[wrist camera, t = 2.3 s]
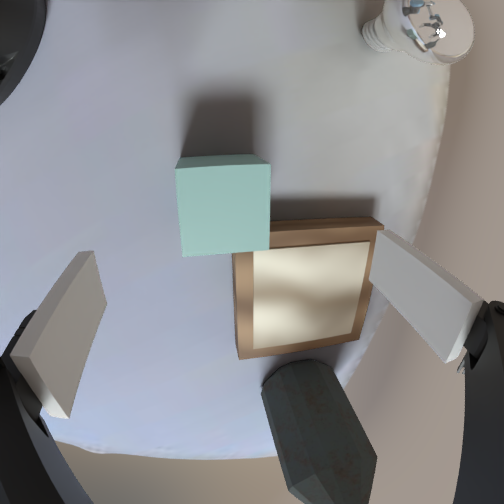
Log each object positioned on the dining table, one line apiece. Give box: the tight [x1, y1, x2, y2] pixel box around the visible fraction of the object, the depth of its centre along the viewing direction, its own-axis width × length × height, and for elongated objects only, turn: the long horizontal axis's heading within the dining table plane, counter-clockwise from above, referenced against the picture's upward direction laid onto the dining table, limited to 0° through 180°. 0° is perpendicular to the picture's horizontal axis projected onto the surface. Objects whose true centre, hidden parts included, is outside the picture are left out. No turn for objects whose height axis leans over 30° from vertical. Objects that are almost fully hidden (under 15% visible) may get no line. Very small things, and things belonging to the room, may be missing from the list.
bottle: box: [261, 359, 377, 504], centre depth 23 cm, size 10×10×30 cm
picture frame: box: [232, 217, 384, 360], centre depth 29 cm, size 14×14×3 cm
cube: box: [175, 154, 271, 257], centre depth 22 cm, size 6×6×6 cm
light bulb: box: [362, 0, 475, 65], centre depth 15 cm, size 7×7×12 cm
